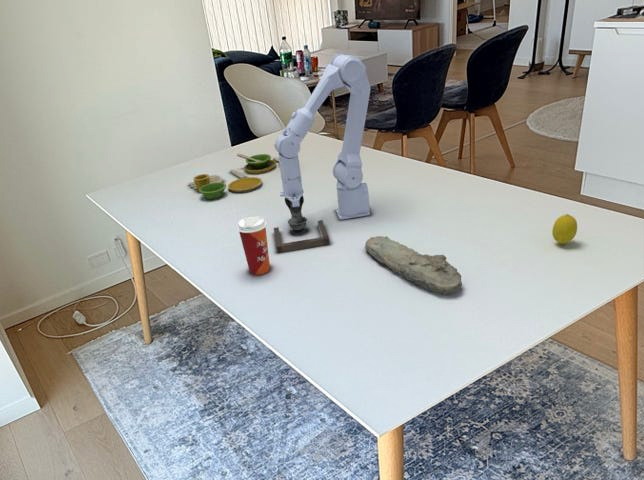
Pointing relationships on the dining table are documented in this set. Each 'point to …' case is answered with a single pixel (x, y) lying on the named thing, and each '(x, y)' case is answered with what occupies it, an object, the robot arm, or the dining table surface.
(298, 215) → the salt shaker
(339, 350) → the dining table surface
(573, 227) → the lemon
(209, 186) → the tableware set
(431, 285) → the elongated rock
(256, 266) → the paper cup
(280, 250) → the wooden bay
